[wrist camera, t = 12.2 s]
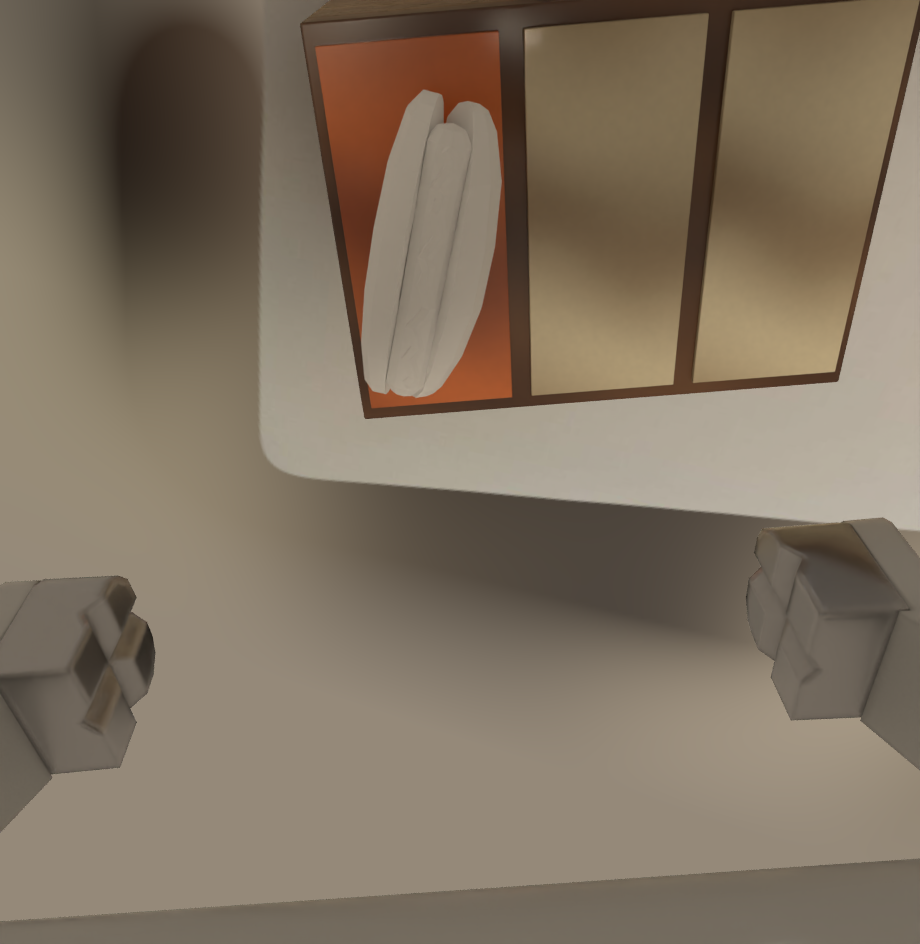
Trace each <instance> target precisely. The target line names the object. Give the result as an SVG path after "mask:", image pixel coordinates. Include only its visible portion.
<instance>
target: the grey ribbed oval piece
mask: <svg viewBox="0 0 920 944" xmlns="http://www.w3.org/2000/svg"><path fill="white" fill-rule="evenodd" d="M501 184H502V180H501V169H500V159H499V148H498V138H497V130H496V128H495V125H494V123H493V120H492V118H491V115H490V113H489V111H488V110H487V109H486V108H485V107H483V106H482V105H481V104H478V103H474V102H470V101H465V102H460V103H458V104H457V106H456V107H455V108H454V109H453V110H452V111H451V113H450V114H449V115H448V117H447V121H446V123H444V101H443V97H442V95H441V94H439V93H435V92H431V91H428V90H422V91H421V92H420V93H419V94H418V95H417V96H416V97H415V98H414V99H413V100H412V101H411V102H410V103H409V104H408V106H407V107H406V110H405V113H404V116H403V119H402V121H401V124H400V127H399V130H398V133H397V136H396V139H395V141H394V144H393V147H392V150H391V153H390V156H389V159H388V162H387V167H386V171H385V176H384V181H383V186H382V190H381V195H380V200H379V205H378V209H377V214H376V219H375V223H374V228H373V235H372V242H371V249H370V255H369V262H368V269H367V276H366V283H365V289H364V305H363V321H362V337H361V347H362V357H363V368H364V378H365V381H366V382H367V384H368V385H369V387H370V388H371V389H372V391H374V392H378V393H383V394H387V393H388V392H389V390H390V388H391V390H392V391H393V392H394V393H396V394H397V395H401V396H413V397H415V398H418V397H425V396H428V395H431V394H433V393H435V392H436V391H437V390H438V389H439V388H441V387H442V385H443V384H444V383H445V381H446V380H447V378H448V377H449V375H450V374H451V372H452V371H453V369H454V368H455V366H456V365H457V363H458V362H459V360H460V359H461V357H462V355H463V353H464V350H465V348H466V345H467V343H468V340H469V338H470V335H471V333H472V330H473V328H474V325H475V323H476V321H477V318H478V316H479V313H480V311H481V308H482V304H483V299H484V295H485V290H486V286H487V281H488V277H489V272H490V267H491V263H492V258H493V254H494V249H495V242H496V232H497V223H498V213H499V203H500V193H501Z"/></svg>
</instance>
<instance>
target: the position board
mask: <svg viewBox="0 0 920 944" xmlns="http://www.w3.org/2000/svg"><path fill="white" fill-rule="evenodd" d="M300 28H301V34H302V40H303V46H304V52H305V58H306V64H307V70H308V76H309V83H310V89H311V95H312V101H313V107H314V113H315V119H316V125H317V131H318V137H319V144H320V150H321V156H322V162H323V168H324V174H325V180H326V186H327V192H328V199H329V205H330V211H331V217H332V223H333V229H334V235H335V241H336V247H337V254H338V260H339V266H340V272H341V278H342V284H343V290H344V296H345V302H346V309H347V315H348V321H349V327H350V333H351V339H352V345H353V351H354V357H355V363H356V370H357V376H358V382H359V388H360V394H361V400H362V406H363V412H364V417H365V419H371V418H384V417H396V416H409V415H422V414H434V413H447V412H460V411H473V410H485V409H498V408H511V407H523V406H536V405H549V404H562V403H574V402H587V401H600V400H612V399H625V398H638V397H650V396H663V395H676V394H689V393H701V392H714V391H727V390H739V389H752V388H765V387H777V386H790V385H803V384H816V383H828V382H837V381H838V380H839V375H840V371H841V367H842V363H843V358H844V354H845V350H846V345H847V341H848V337H849V332H850V328H851V324H852V320H853V315H854V311H855V307H856V302H857V298H858V294H859V289H860V285H861V281H862V277H863V272H864V268H865V264H866V259H867V255H868V251H869V246H870V242H871V238H872V234H873V229H874V225H875V221H876V216H877V212H878V208H879V204H880V199H881V195H882V191H883V186H884V182H885V178H886V173H887V169H888V165H889V161H890V156H891V152H892V148H893V143H894V139H895V135H896V130H897V126H898V122H899V118H900V113H901V109H902V105H903V100H904V96H905V92H906V87H907V83H908V79H909V75H910V70H911V66H912V62H913V57H914V53H915V49H916V45H917V40H918V36H919V32H920V0H513V1H501V2H490V3H478V4H466V5H454V6H442V7H431V8H419V9H407V10H395V11H384V12H372V13H360V14H348V15H336V16H325V17H313V18H307V19H306V20H304V21H303V22H302V23H301V24H300ZM422 90H428V91H431V92H435V93H439V94H441V95H442V97H443V101H444V123H446V121H447V117H448V115H449V114H450V113H451V111H452V110H453V109H454V108H455V107H456V106H457V104H458V103H460V102H465V101H470V102H474V103H478V104H481V105H482V106H483V107H485V108H486V109H487V110H488V111H489V113H490V115H491V118H492V120H493V123H494V125H495V128H496V130H497V138H498V148H499V159H500V169H501V180H502V184H501V193H500V203H499V213H498V223H497V232H496V242H495V249H494V254H493V258H492V263H491V267H490V272H489V277H488V281H487V286H486V290H485V295H484V299H483V304H482V308H481V311H480V313H479V316H478V318H477V321H476V323H475V325H474V328H473V330H472V333H471V335H470V338H469V340H468V343H467V345H466V348H465V350H464V353H463V355H462V357H461V359H460V360H459V362H458V363H457V365H456V366H455V368H454V369H453V371H452V372H451V374H450V375H449V377H448V378H447V380H446V381H445V383H444V384H443V385H442V387H441V388H439V389H438V390H437V391H436V392H435V393H433V394H431V395H428V396H425V397H418V398H415V397H413V396H401V395H397V394H396V393H394V392H393V391H392V390H391V388H390V390H389V392H388V393H387V394H383V393H378V392H374V391H372V389H371V388H370V387H369V385H368V384H367V382H366V381H365V378H364V368H363V357H362V347H361V337H362V321H363V305H364V289H365V283H366V276H367V269H368V262H369V255H370V249H371V242H372V235H373V228H374V223H375V219H376V214H377V209H378V205H379V200H380V195H381V190H382V186H383V181H384V176H385V171H386V167H387V162H388V159H389V156H390V153H391V150H392V147H393V144H394V141H395V139H396V136H397V133H398V130H399V127H400V124H401V121H402V119H403V116H404V113H405V110H406V107H407V106H408V104H409V103H410V102H411V101H412V100H413V99H414V98H415V97H416V96H417V95H418V94H419V93H420V92H421V91H422Z"/></svg>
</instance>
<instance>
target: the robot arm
mask: <svg viewBox="0 0 920 944" xmlns="http://www.w3.org/2000/svg"><path fill="white" fill-rule="evenodd" d="M754 553H755V555H756V557H757V559H758V561H759V563H760V565H761V567H760V568H759V569H758V571H756V572H755V573H754V574H753V575H752V576H751V577H750V578H749V581H748V588H747V595H746V605H747V618H748V622H749V626H750V629H751V633H752V636H753V638H754V640H755V643H756V645H757V647H758V649H759V650H760V651H761V652H763V653H764V654H766V655H767V656H769V657H770V658H771V659H773V660H774V661H775V662H774V666H773V671H772V675H771V678H772V680H773V683H774V685H775V687H776V689H777V691H778V694H779V696H780V698H781V700H782V702H783V704H784V706H785V709H786V711H787V713H788V715H789V717H790V719H791V720H809V719H833V718H855V717H861V720H860V721H862V722H863V723H864V724H865V725H866V726H867V727H869V728H870V729H871V730H872V731H873V732H875V733H876V734H877V735H878V736H879V737H881V738H882V739H883V740H884V741H885V742H887V743H888V744H889V745H890V746H891V747H893V748H894V749H895V750H896V751H897V752H898V753H900V754H901V755H902V756H903V757H904V758H906V759H907V760H908V761H909V762H911V763H912V764H913V765H914V766H915V767H916V768H918V769H919V770H920V558H919V556H918V555H917V554H916V553H915V551H914V550H913V549H912V547H911V546H910V545H909V544H908V542H907V541H906V540H905V538H904V537H903V536H902V535H901V533H900V532H899V531H898V529H897V528H896V527H895V526H894V524H893V523H892V522H890V521H888V520H887V519H885V518H872V519H861V520H851V521H843V522H841V523H838V522H836V523H824V524H811V525H799V526H786V527H774V528H763V529H762V530H761V532H760V534H759V535H758V537H757V541H756V546H755V551H754ZM135 600H136V595H135V593H134V591H133V589H132V587H131V585H130V583H129V581H128V579H126V578H123V577H120V576H104V577H103V576H102V577H84V578H83V577H82V578H63V579H44V580H42V581H18V582H5V583H3V584H2V585H0V832H1V831H2V830H3V829H4V828H5V827H6V826H7V825H8V824H9V823H10V822H11V821H12V820H13V819H14V818H15V817H16V816H17V815H18V813H19V812H20V811H21V810H22V809H23V808H24V807H25V806H26V805H27V804H28V803H29V802H30V801H31V800H32V799H33V798H34V797H35V796H36V794H37V793H38V792H39V791H40V790H41V789H42V788H43V787H44V786H45V785H46V784H47V783H48V782H49V781H50V780H51V779H52V776H51V774H59V773H69V772H79V771H89V770H100V769H110V768H120V766H121V763H122V761H123V758H124V755H125V753H126V750H127V747H128V744H129V741H130V739H131V736H132V734H133V731H134V728H135V725H136V723H137V722H136V720H135V718H134V716H133V713H132V711H131V709H130V708H131V707H132V706H133V705H135V704H136V703H137V702H138V701H139V700H140V699H141V698H142V697H144V696H145V695H146V694H147V692H148V689H149V686H150V683H151V680H152V677H153V674H154V662H155V648H154V642H153V637H152V634H151V631H150V629H149V626H148V624H147V622H146V621H144V620H143V619H141V618H140V617H138V616H137V615H135V614H134V613H133V612H131V610H132V607H133V605H134V602H135ZM0 944H920V859H907V860H894V861H893V860H892V861H878V862H862V863H849V864H833V865H819V866H804V867H790V868H775V869H760V870H746V871H731V872H717V873H703V874H688V875H675V876H659V877H644V878H630V879H617V880H616V879H615V880H601V881H586V882H572V883H558V884H543V885H529V886H516V887H515V886H514V887H501V888H485V889H470V890H456V891H441V892H427V893H413V894H412V893H411V894H397V895H384V896H383V895H382V896H368V897H353V898H338V899H325V900H324V899H323V900H308V901H294V902H280V903H264V904H249V905H235V906H220V907H207V908H206V907H205V908H191V909H176V910H162V911H147V912H133V913H117V914H102V915H88V916H73V917H59V918H44V919H29V920H14V921H0Z"/></svg>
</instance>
